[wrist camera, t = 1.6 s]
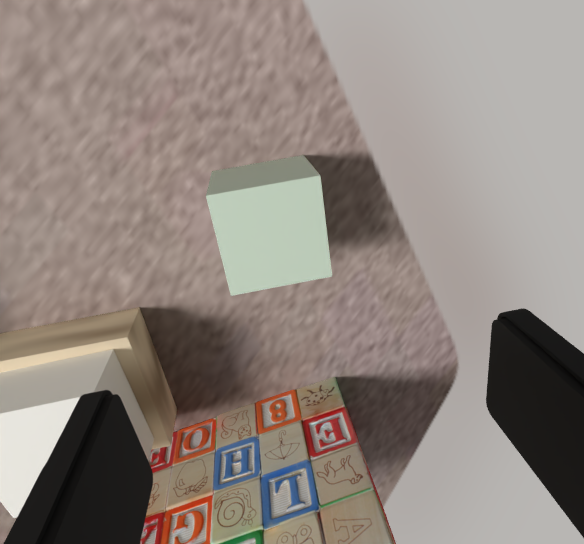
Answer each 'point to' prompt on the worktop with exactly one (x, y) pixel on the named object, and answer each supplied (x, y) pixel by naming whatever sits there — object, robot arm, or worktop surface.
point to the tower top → (52, 415)
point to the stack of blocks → (267, 477)
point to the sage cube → (270, 224)
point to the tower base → (96, 338)
